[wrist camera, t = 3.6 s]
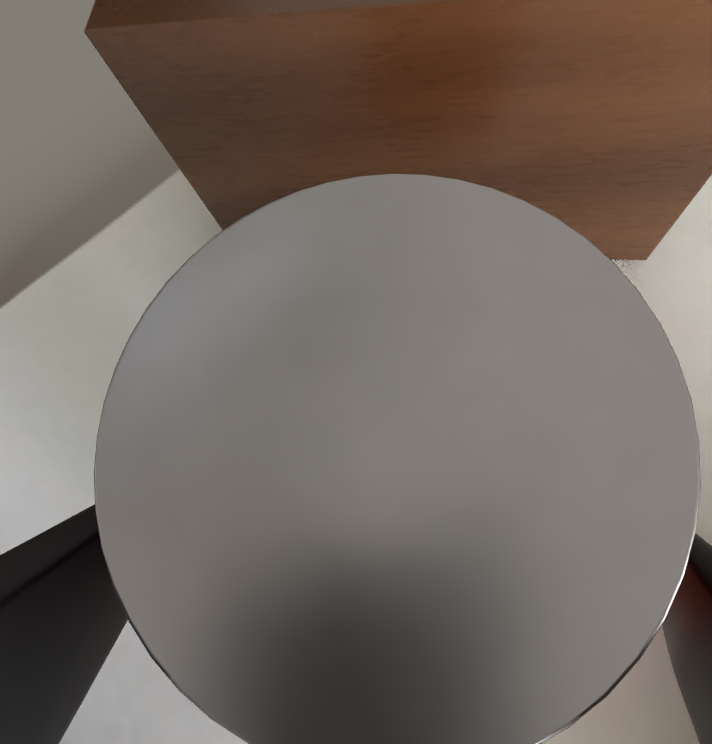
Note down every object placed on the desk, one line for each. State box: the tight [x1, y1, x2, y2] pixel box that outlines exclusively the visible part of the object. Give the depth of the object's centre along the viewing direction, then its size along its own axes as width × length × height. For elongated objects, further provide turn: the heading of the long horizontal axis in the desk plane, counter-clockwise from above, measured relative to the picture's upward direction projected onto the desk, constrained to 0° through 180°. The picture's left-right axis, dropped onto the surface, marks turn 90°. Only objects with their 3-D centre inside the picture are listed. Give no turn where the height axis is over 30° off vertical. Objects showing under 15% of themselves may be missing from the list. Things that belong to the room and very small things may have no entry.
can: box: [94, 174, 701, 744], centre depth 11 cm, size 7×7×12 cm
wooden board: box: [84, 0, 712, 260], centre depth 15 cm, size 2×16×10 cm, turn 84°
